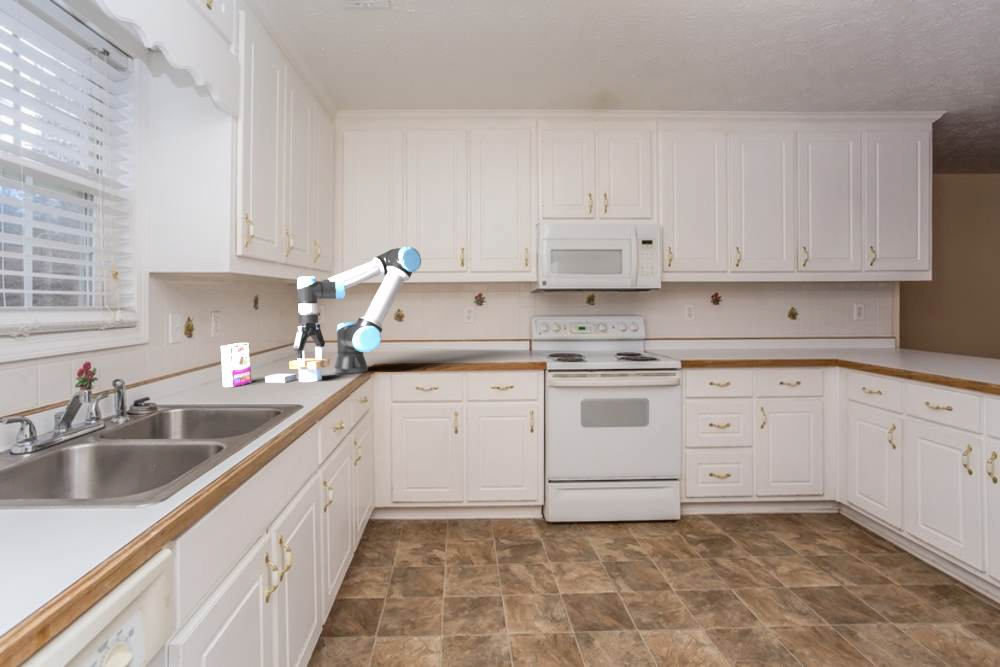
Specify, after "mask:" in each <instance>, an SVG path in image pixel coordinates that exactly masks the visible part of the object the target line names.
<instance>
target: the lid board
mask: <svg viewBox="0 0 1000 667" xmlns="http://www.w3.org/2000/svg"><path fill="white" fill-rule="evenodd" d="M330 360H331V359H330V358H322V359H316V358H305V367H298V359H294V360H290V361H289V362H288V366H289V370H298V369H320V368H322V369H323V368H327V367H330V366H331V362H330Z"/></svg>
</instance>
